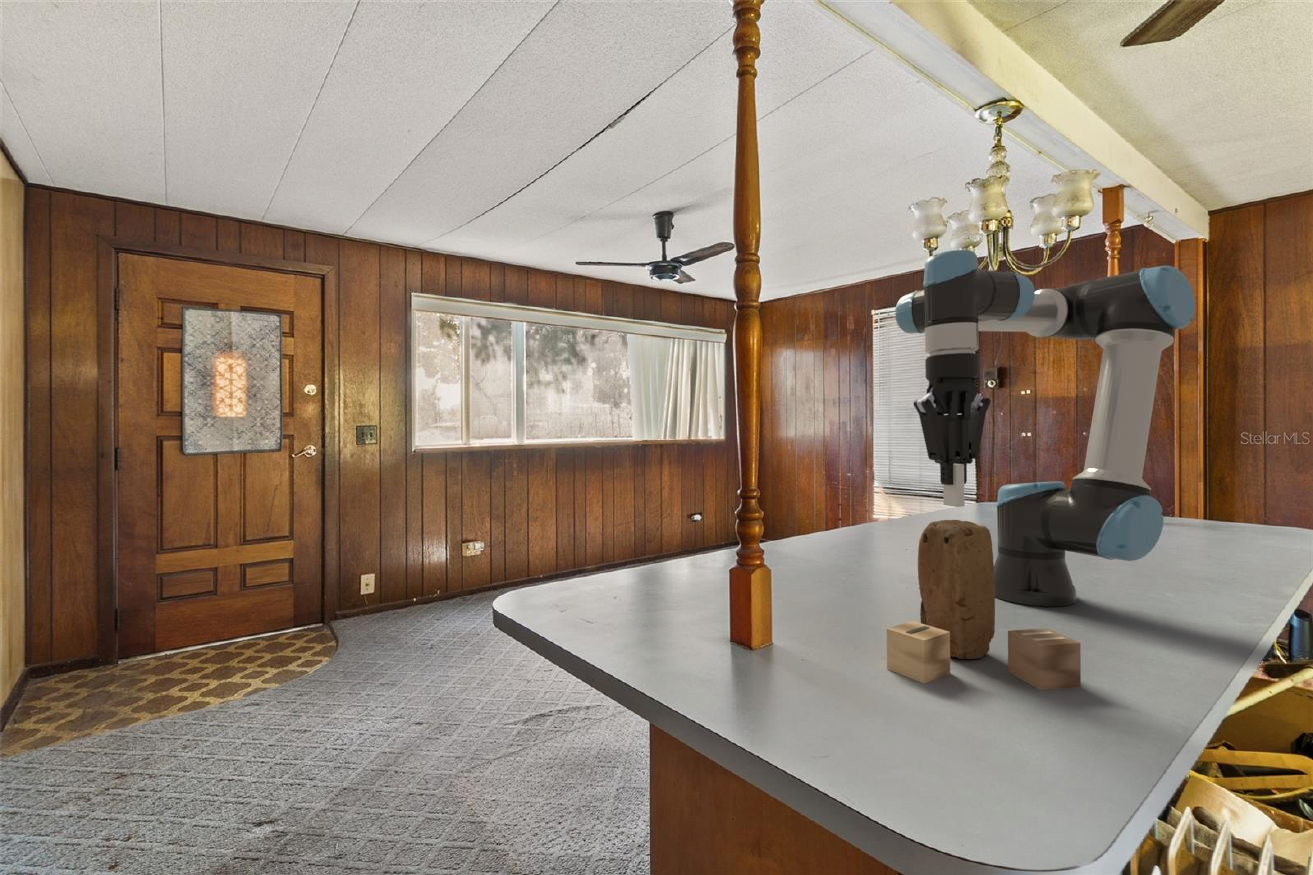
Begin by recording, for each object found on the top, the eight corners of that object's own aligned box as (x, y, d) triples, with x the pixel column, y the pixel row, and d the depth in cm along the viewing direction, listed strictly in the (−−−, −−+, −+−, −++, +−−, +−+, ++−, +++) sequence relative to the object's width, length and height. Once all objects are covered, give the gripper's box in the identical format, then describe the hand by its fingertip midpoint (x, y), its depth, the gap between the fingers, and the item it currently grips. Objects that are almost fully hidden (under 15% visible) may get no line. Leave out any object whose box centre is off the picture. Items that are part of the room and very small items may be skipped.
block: (1000, 660, 91) (999, 526, 91) (956, 664, 90) (955, 529, 89) (951, 635, 102) (950, 516, 102) (911, 639, 100) (910, 518, 100)
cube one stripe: (912, 660, 92) (912, 620, 92) (950, 673, 87) (949, 631, 87) (887, 669, 89) (886, 627, 89) (924, 684, 84) (923, 639, 84)
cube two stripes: (1046, 669, 88) (1046, 627, 88) (1080, 687, 82) (1080, 642, 82) (1008, 672, 87) (1007, 630, 87) (1039, 690, 81) (1039, 645, 81)
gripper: (966, 357, 100) (968, 500, 101) (900, 356, 97) (902, 505, 97) (1004, 351, 93) (1007, 505, 94) (934, 350, 89) (937, 511, 90)
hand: (954, 505), depth 96 cm, fingers closed
